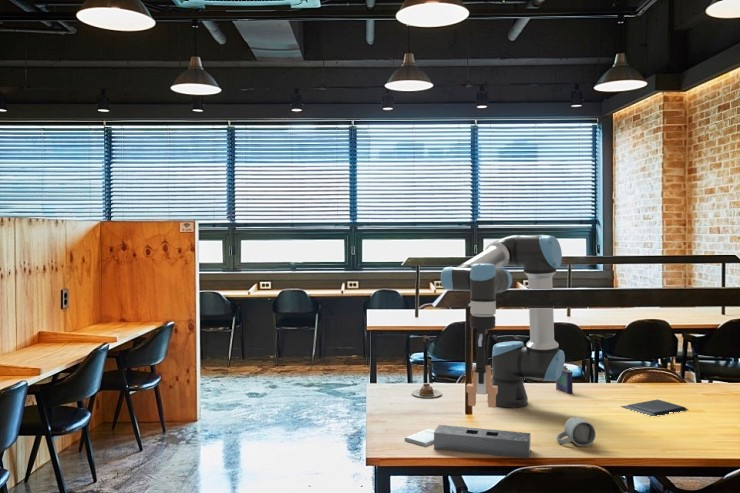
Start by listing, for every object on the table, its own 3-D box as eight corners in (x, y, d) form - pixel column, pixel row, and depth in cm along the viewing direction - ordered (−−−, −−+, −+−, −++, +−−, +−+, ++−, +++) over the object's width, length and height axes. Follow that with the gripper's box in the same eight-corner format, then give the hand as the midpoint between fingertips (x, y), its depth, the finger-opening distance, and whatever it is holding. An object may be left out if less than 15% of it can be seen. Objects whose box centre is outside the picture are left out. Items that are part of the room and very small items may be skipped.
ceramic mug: (584, 437, 202) (584, 413, 202) (596, 446, 194) (596, 421, 193) (552, 439, 201) (552, 415, 201) (562, 448, 193) (562, 423, 193)
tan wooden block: (467, 403, 193) (468, 364, 193) (497, 405, 191) (497, 366, 191) (466, 405, 191) (466, 366, 190) (496, 408, 188) (496, 368, 188)
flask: (554, 388, 264) (554, 363, 263) (560, 388, 265) (560, 362, 264) (568, 394, 255) (569, 368, 255) (574, 393, 256) (575, 367, 256)
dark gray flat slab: (652, 413, 224) (619, 403, 238) (652, 419, 224) (619, 408, 238) (691, 407, 232) (656, 397, 246) (691, 412, 232) (656, 401, 246)
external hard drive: (404, 442, 199) (427, 432, 209) (425, 448, 194) (448, 437, 203) (404, 437, 199) (427, 427, 209) (425, 442, 194) (448, 432, 203)
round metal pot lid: (442, 392, 260) (442, 381, 259) (441, 400, 248) (441, 388, 248) (412, 391, 261) (412, 380, 261) (410, 399, 249) (410, 387, 249)
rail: (438, 440, 199) (438, 424, 199) (530, 449, 191) (530, 433, 191) (433, 448, 192) (433, 432, 191) (529, 458, 183) (529, 441, 183)
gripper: (473, 311, 199) (473, 385, 199) (466, 317, 184) (465, 398, 184) (498, 312, 197) (497, 387, 197) (492, 318, 181) (491, 400, 182)
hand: (482, 392), depth 191 cm, fingers closed on tan wooden block, 3 cm apart
